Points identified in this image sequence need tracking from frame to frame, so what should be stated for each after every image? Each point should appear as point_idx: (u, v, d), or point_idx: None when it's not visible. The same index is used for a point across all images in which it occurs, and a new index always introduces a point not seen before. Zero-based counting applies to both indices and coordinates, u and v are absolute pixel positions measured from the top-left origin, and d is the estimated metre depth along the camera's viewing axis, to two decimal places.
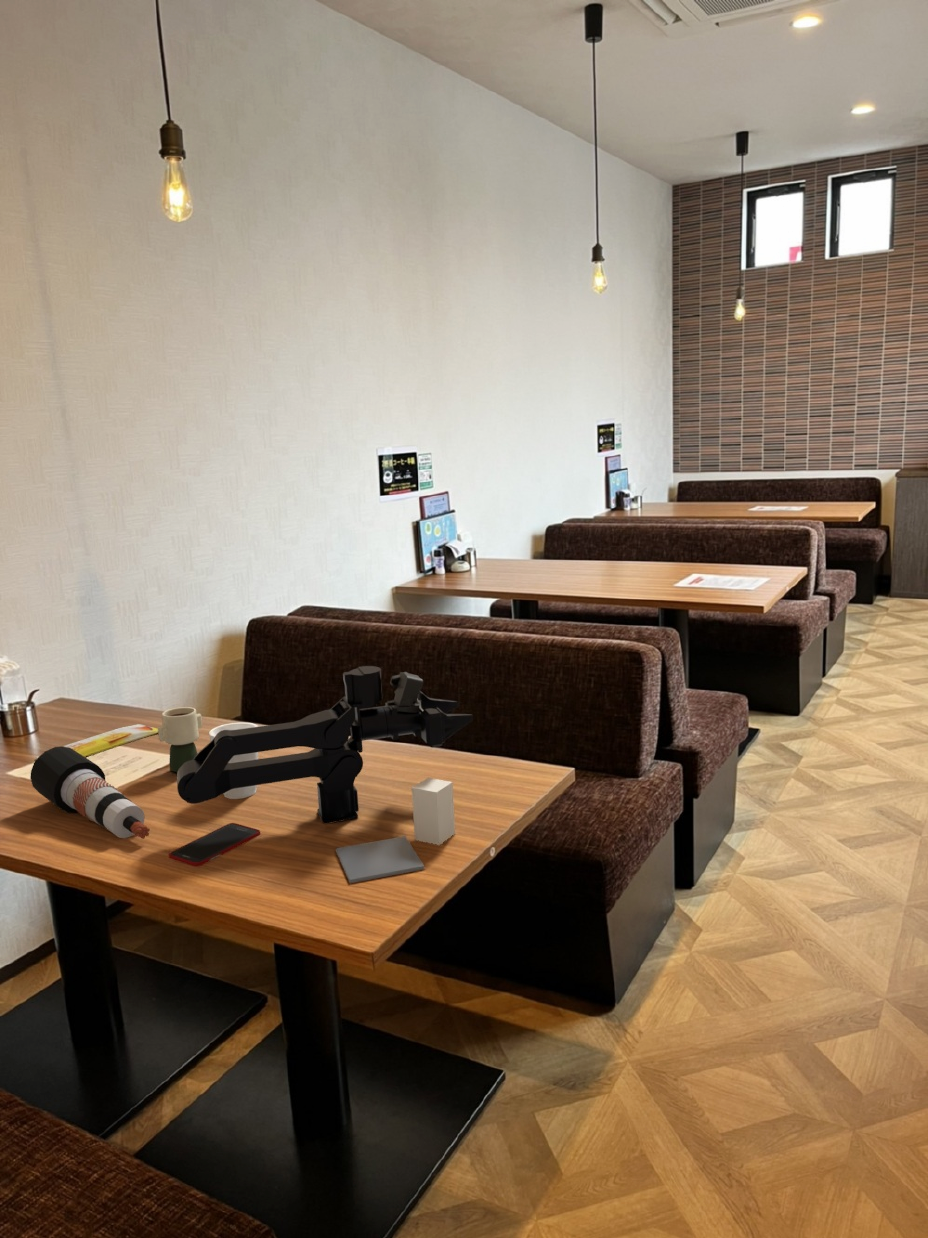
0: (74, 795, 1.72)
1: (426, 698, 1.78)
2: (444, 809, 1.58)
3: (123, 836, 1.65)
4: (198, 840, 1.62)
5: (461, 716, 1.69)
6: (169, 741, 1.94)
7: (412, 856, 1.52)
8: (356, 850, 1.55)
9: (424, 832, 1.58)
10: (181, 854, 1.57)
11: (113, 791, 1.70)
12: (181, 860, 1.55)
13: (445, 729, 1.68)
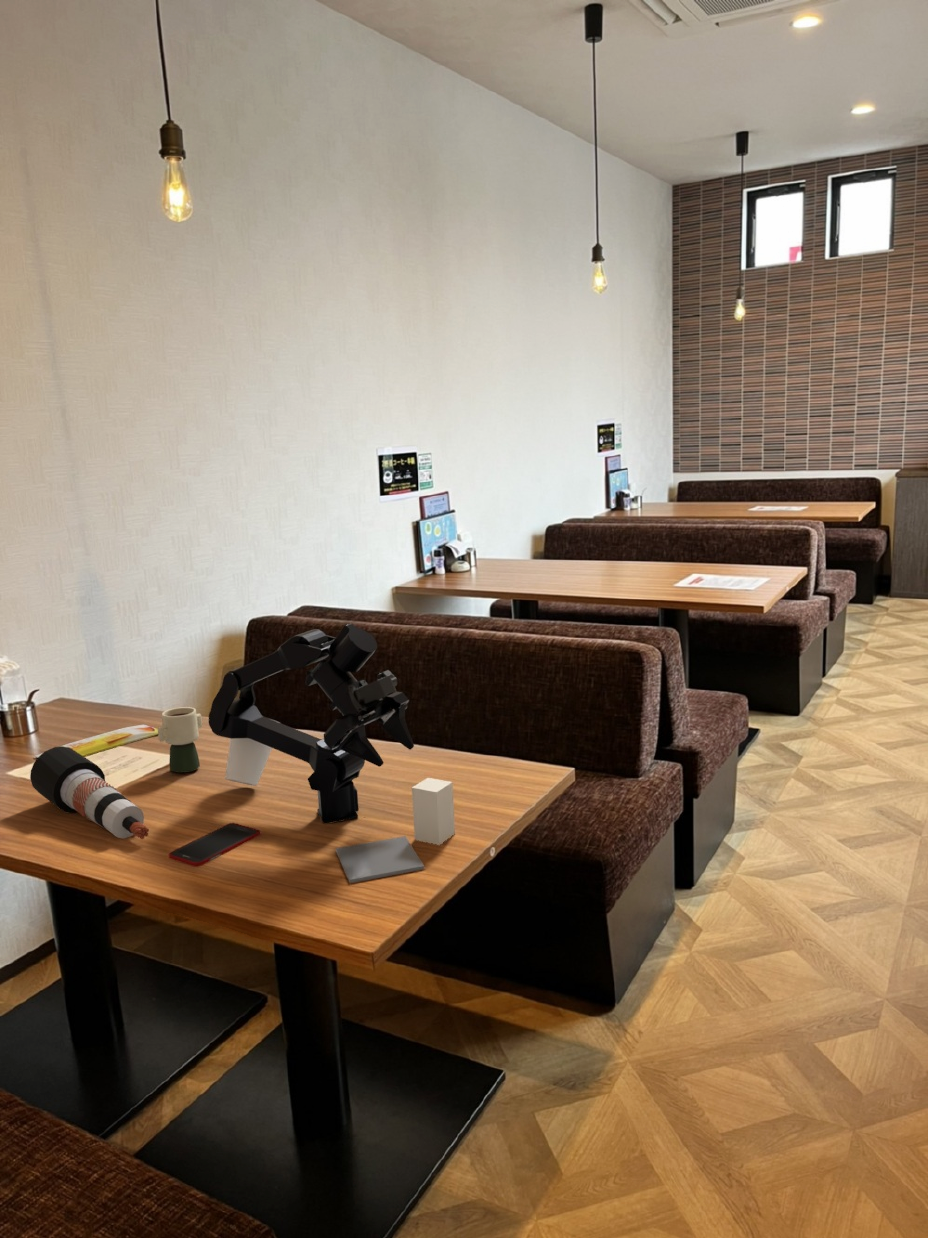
0: (74, 795, 1.72)
1: (398, 715, 1.66)
2: (444, 809, 1.58)
3: (122, 836, 1.65)
4: (198, 840, 1.62)
5: (372, 753, 1.57)
6: (169, 741, 1.94)
7: (412, 856, 1.52)
8: (356, 850, 1.55)
9: (424, 832, 1.58)
10: (181, 854, 1.57)
11: (112, 791, 1.70)
12: (181, 860, 1.55)
13: (352, 745, 1.58)
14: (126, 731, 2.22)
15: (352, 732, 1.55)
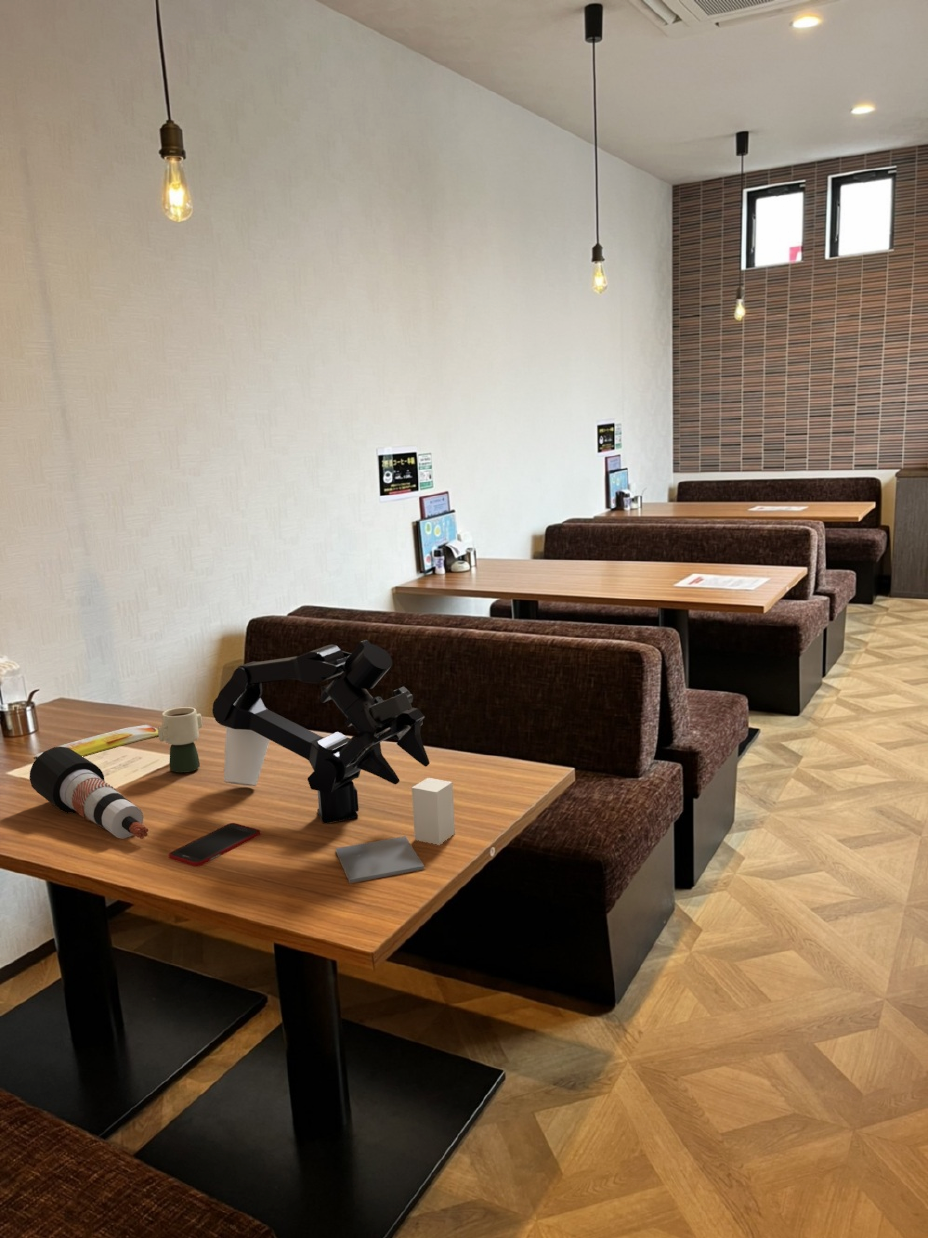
0: (73, 795, 1.72)
1: (413, 732, 1.65)
2: (444, 809, 1.58)
3: (122, 836, 1.65)
4: (198, 840, 1.62)
5: (388, 770, 1.56)
6: (169, 741, 1.94)
7: (412, 856, 1.52)
8: (356, 850, 1.55)
9: (424, 832, 1.58)
10: (181, 854, 1.57)
11: (112, 791, 1.70)
12: (181, 860, 1.55)
13: (368, 762, 1.57)
14: (127, 731, 2.22)
15: (368, 750, 1.54)
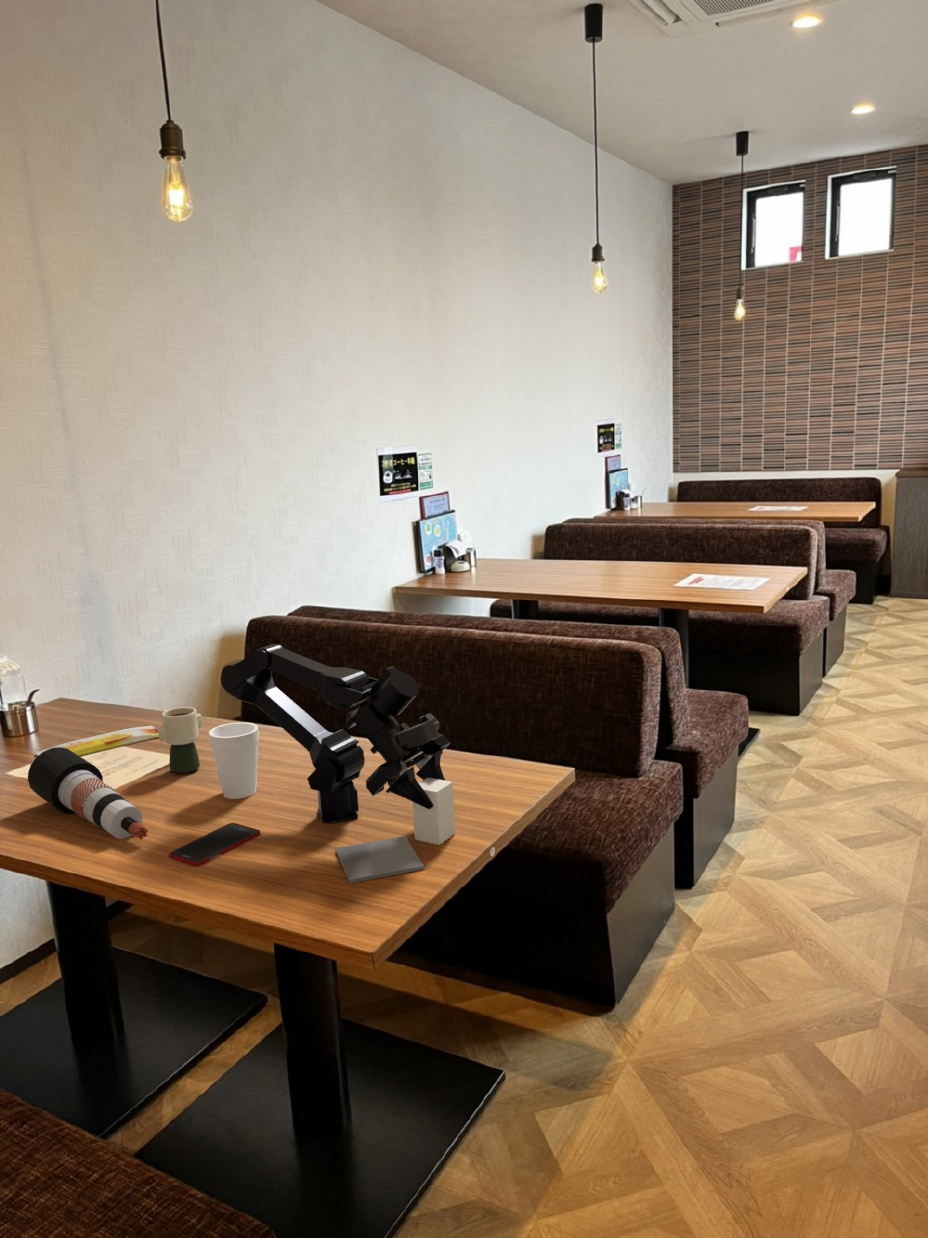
0: (72, 796, 1.72)
1: (433, 762, 1.61)
2: (444, 809, 1.58)
3: (121, 837, 1.65)
4: (198, 840, 1.62)
5: (422, 795, 1.56)
6: (169, 741, 1.94)
7: (412, 856, 1.52)
8: (356, 850, 1.55)
9: (424, 832, 1.58)
10: (181, 854, 1.57)
11: (111, 792, 1.70)
12: (181, 860, 1.55)
13: (402, 787, 1.57)
14: (128, 732, 2.21)
15: (402, 775, 1.54)
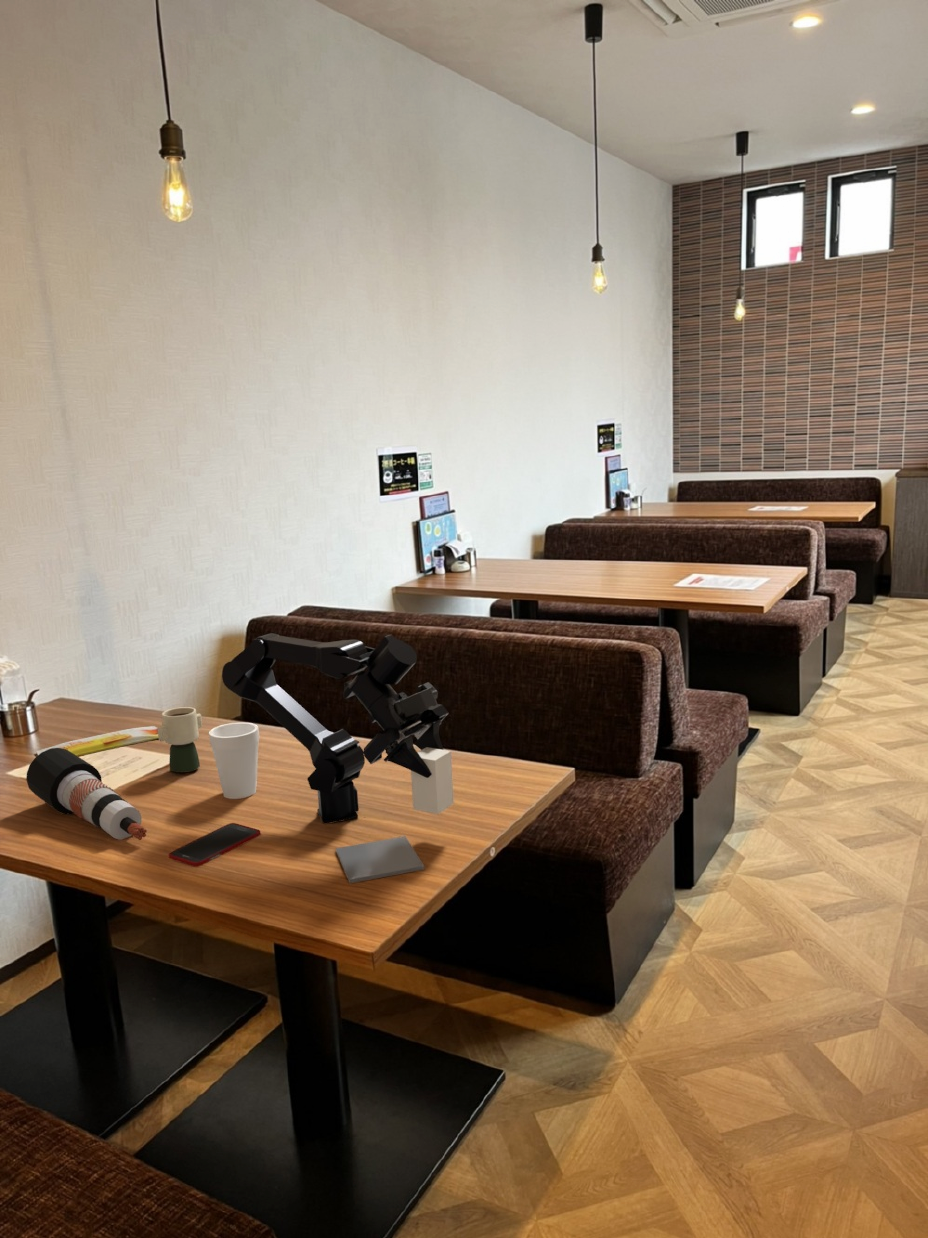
0: (70, 796, 1.71)
1: (432, 731, 1.60)
2: (443, 778, 1.57)
3: (120, 837, 1.65)
4: (198, 840, 1.62)
5: (420, 764, 1.54)
6: (169, 741, 1.94)
7: (412, 856, 1.52)
8: (356, 850, 1.55)
9: (422, 801, 1.57)
10: (181, 854, 1.57)
11: (110, 792, 1.69)
12: (181, 860, 1.55)
13: (400, 756, 1.56)
14: (129, 732, 2.21)
15: (400, 743, 1.52)
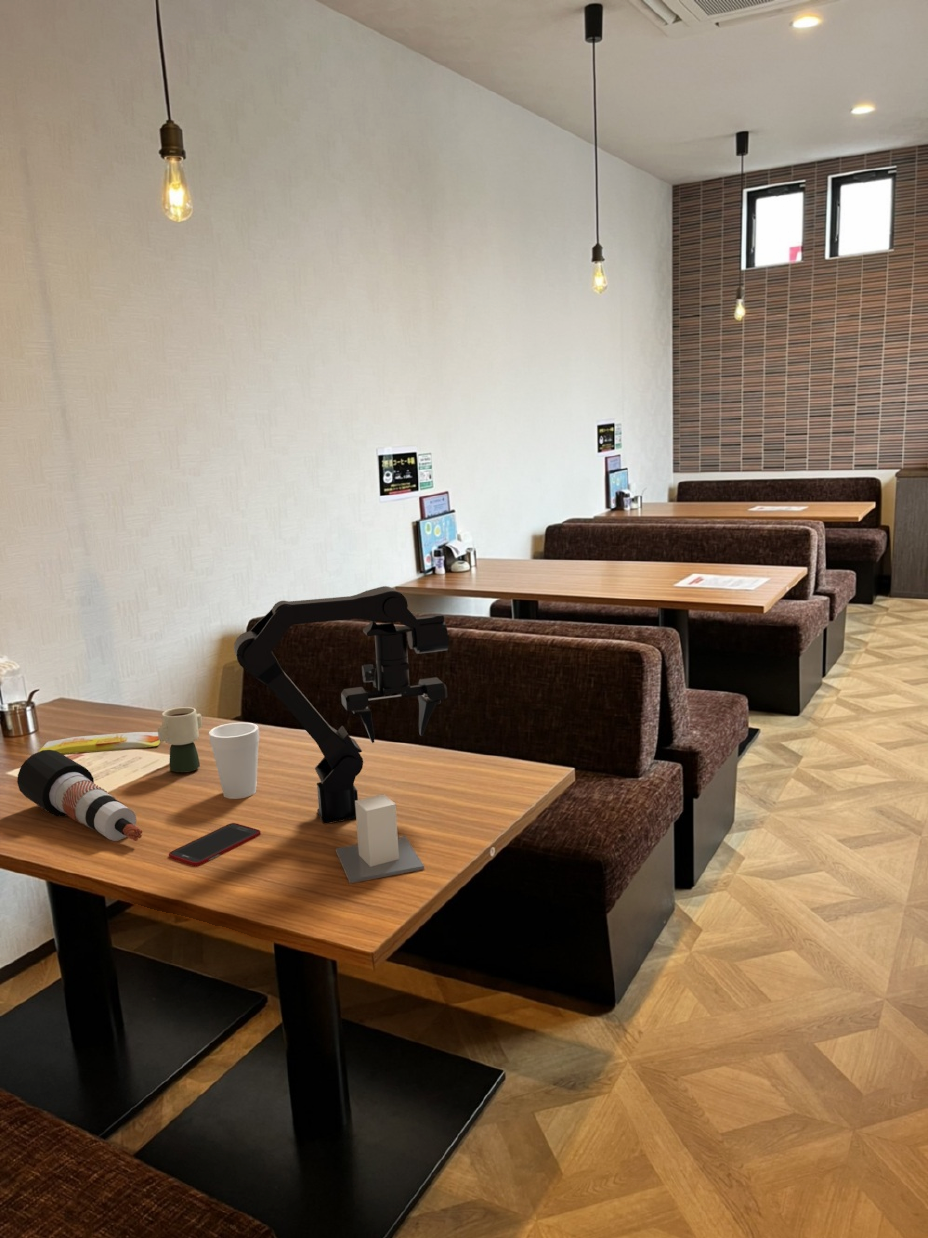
0: (63, 798, 1.71)
1: None
2: (380, 830, 1.49)
3: (115, 839, 1.64)
4: (198, 840, 1.62)
5: None
6: (169, 741, 1.94)
7: (412, 856, 1.52)
8: (356, 850, 1.55)
9: (362, 849, 1.51)
10: (181, 854, 1.57)
11: (103, 794, 1.69)
12: (180, 860, 1.55)
13: None
14: (130, 736, 2.18)
15: None
